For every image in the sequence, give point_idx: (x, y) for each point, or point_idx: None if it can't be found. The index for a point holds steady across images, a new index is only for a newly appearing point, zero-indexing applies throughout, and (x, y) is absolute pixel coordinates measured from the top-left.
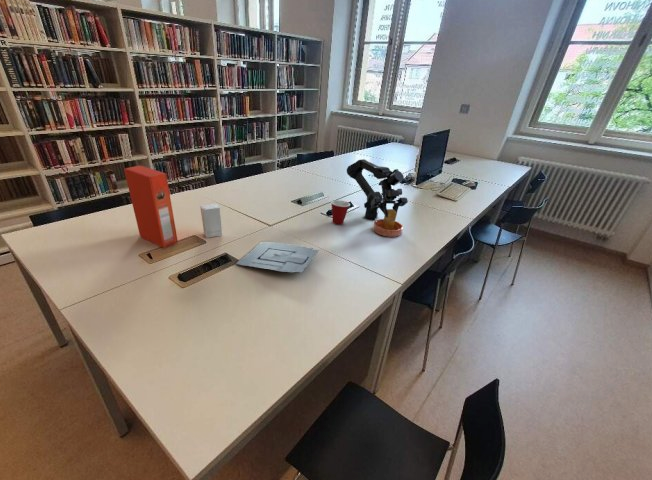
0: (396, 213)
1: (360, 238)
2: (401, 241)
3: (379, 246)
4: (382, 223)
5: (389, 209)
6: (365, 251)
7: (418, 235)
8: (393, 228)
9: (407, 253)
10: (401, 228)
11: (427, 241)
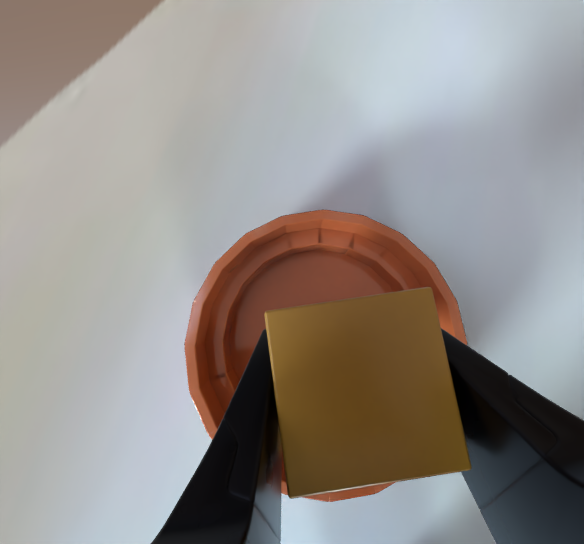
0: (274, 310)
1: (538, 197)
2: (252, 180)
3: (421, 99)
4: None
5: (391, 463)
6: (517, 34)
7: (83, 290)
8: None
9: (264, 33)
10: (218, 268)
11: (60, 198)
